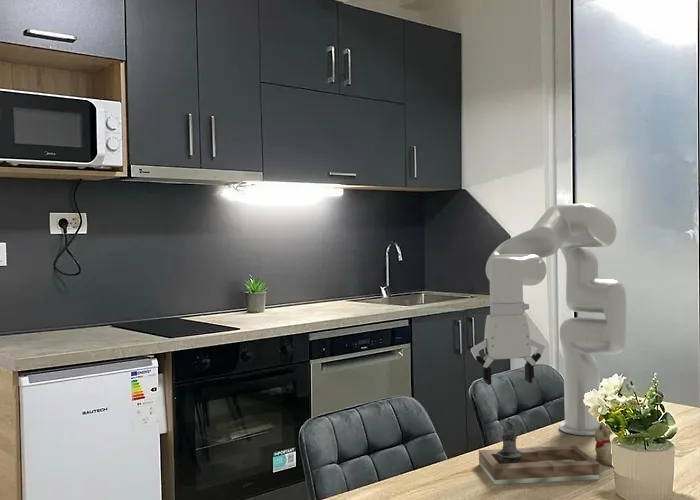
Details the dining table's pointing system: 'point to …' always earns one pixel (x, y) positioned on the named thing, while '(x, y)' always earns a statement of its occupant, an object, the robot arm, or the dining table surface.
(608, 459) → the chocolate bunny
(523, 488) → the dining table surface
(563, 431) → the robot arm
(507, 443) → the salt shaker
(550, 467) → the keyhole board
